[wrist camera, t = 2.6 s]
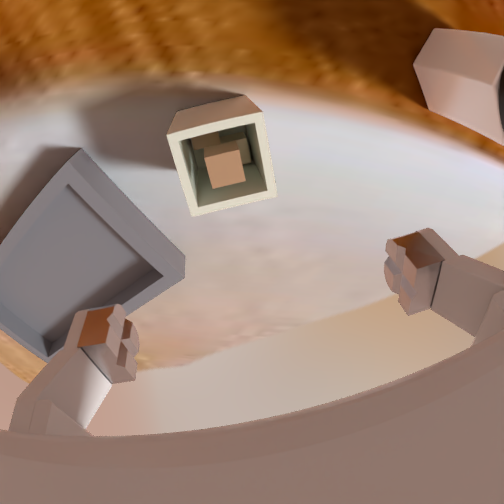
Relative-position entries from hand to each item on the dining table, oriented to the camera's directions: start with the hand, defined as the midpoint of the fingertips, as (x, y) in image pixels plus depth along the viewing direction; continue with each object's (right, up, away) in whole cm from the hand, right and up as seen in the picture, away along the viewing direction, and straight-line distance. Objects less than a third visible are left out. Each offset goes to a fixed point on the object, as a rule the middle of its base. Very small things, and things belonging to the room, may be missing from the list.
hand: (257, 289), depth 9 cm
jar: (+17, +17, +12) cm, 27 cm away
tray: (-19, -1, +18) cm, 26 cm away
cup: (-3, +10, +13) cm, 16 cm away
